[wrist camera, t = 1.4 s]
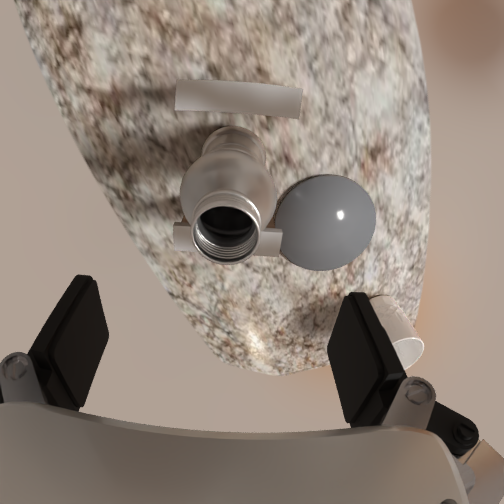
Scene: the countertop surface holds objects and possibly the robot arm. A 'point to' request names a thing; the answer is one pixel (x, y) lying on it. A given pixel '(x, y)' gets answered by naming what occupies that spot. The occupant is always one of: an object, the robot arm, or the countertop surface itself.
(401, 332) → the white cup
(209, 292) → the countertop surface
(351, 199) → the coaster
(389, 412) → the robot arm
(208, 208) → the grey bulging hollow cylinder
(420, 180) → the countertop surface
